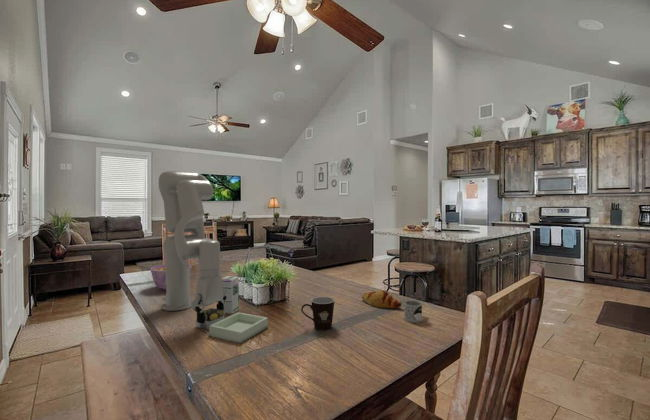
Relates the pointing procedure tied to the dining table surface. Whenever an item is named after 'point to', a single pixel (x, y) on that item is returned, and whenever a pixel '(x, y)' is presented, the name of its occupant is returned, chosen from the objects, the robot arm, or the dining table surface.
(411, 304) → the mug
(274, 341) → the dining table surface
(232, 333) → the tray
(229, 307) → the syrup box
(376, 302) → the croissant
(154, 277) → the bowl of food
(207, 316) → the open shelf cabinet
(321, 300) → the coffee mug
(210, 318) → the ball
